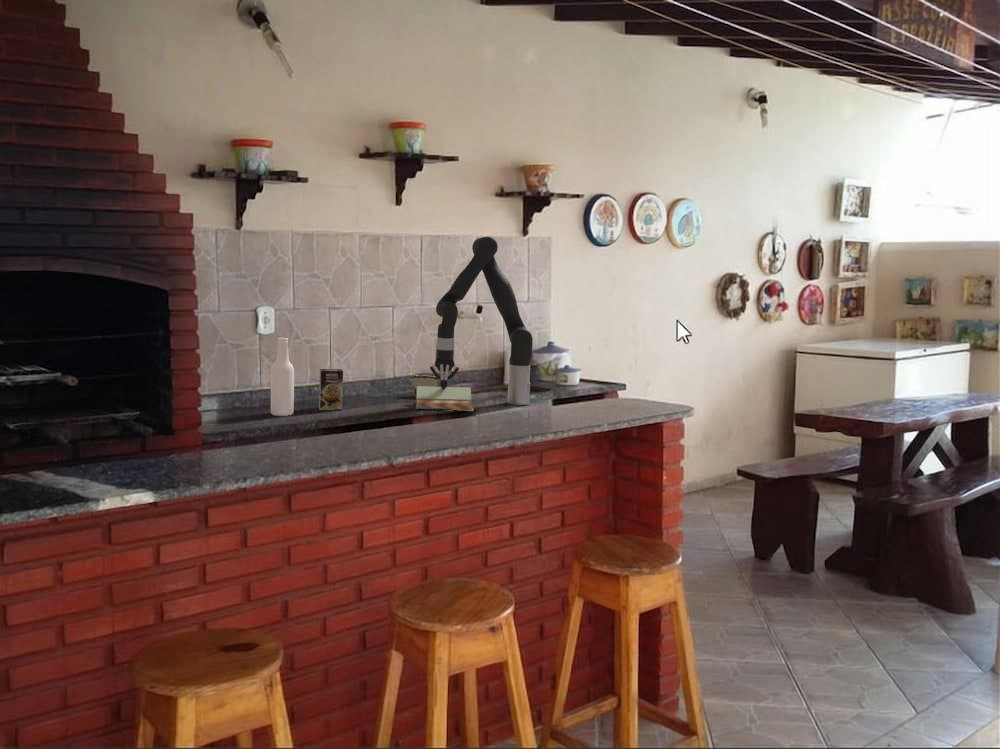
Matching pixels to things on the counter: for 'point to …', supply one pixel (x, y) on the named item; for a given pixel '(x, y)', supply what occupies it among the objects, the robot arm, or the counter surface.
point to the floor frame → (446, 404)
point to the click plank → (443, 393)
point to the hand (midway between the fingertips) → (443, 388)
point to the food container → (424, 380)
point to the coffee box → (330, 389)
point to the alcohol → (282, 381)
